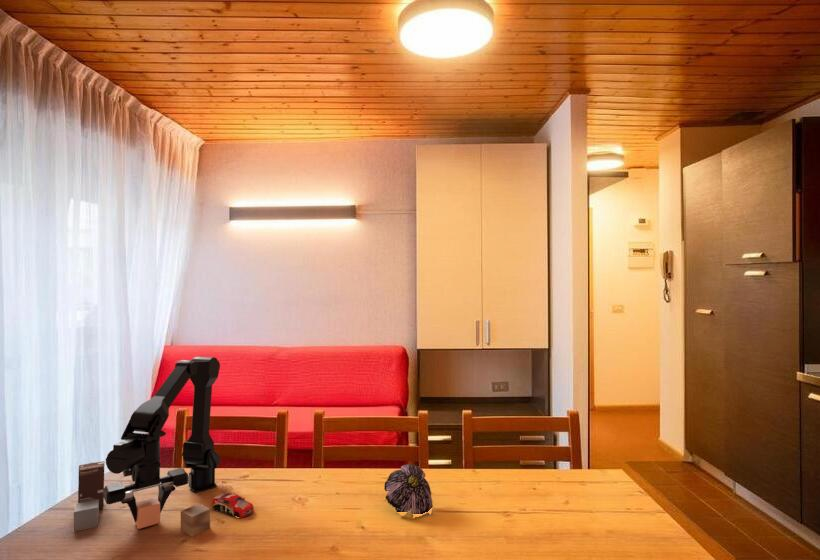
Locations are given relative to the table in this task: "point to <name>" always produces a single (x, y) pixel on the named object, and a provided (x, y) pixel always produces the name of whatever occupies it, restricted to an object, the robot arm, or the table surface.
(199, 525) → the metal block
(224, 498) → the race car
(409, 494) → the decorative flower
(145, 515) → the terracotta block
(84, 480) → the box
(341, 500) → the table surface
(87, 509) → the gray block
